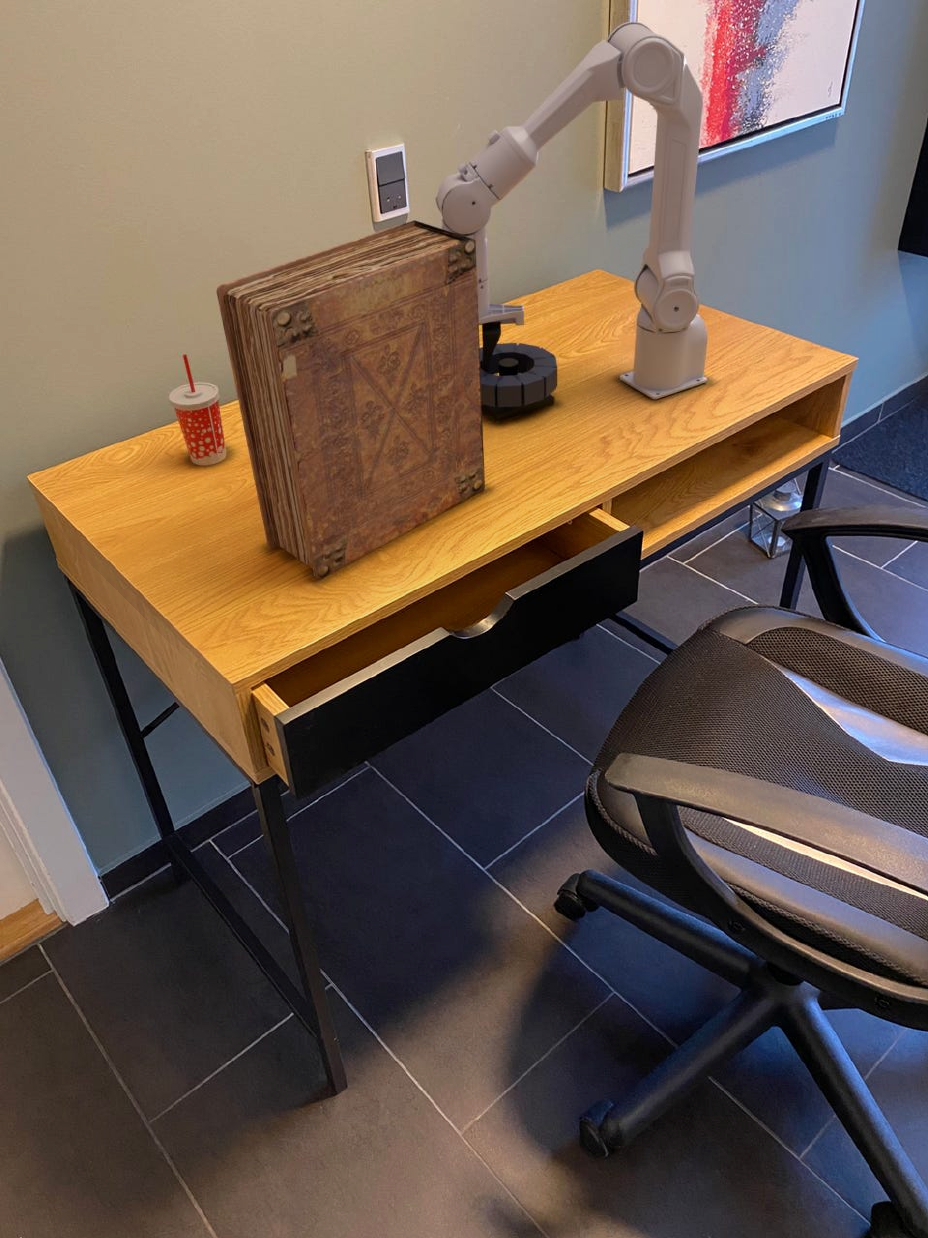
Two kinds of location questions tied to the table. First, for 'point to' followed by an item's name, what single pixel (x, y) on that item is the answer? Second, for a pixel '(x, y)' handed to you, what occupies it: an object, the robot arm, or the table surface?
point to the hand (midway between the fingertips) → (470, 376)
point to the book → (359, 389)
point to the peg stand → (504, 413)
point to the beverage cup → (200, 420)
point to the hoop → (519, 376)
